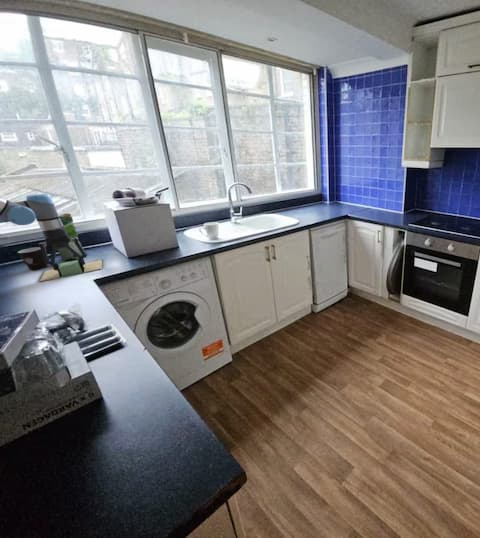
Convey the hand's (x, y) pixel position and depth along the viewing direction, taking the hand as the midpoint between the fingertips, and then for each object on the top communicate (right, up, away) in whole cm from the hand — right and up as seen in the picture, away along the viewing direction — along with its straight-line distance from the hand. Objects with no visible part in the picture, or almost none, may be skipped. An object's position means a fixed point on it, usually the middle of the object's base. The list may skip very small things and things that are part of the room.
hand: (73, 273), depth 145 cm
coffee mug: (-25, +2, +8) cm, 27 cm away
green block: (0, 0, 0) cm, 0 cm away
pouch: (-20, +8, +22) cm, 31 cm away
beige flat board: (-2, +1, +3) cm, 4 cm away
